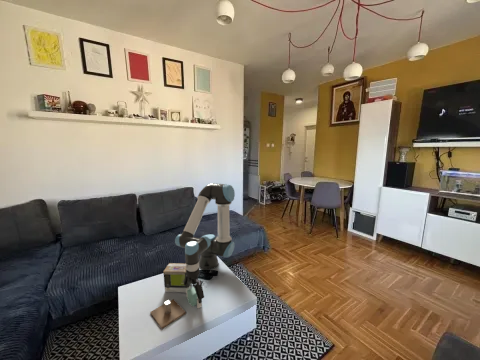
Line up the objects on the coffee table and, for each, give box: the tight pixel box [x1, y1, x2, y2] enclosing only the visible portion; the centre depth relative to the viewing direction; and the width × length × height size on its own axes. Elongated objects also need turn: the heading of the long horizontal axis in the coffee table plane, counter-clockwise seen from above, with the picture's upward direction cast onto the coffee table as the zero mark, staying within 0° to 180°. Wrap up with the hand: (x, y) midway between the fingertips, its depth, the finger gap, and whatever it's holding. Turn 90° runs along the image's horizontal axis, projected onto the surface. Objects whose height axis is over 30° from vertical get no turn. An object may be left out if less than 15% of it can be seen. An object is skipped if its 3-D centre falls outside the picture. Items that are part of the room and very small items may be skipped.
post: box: [163, 299, 171, 314], centre depth 116 cm, size 3×3×6 cm
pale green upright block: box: [187, 286, 198, 307], centre depth 124 cm, size 5×5×8 cm
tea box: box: [163, 262, 192, 294], centre depth 136 cm, size 15×10×15 cm
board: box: [150, 298, 187, 330], centre depth 116 cm, size 14×14×1 cm
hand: (194, 301), depth 125 cm, fingers open, 11 cm apart
